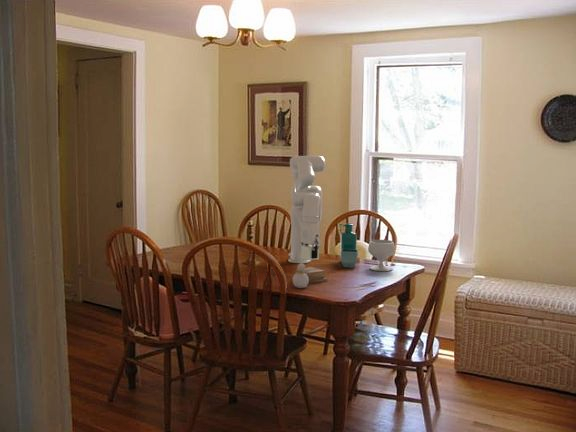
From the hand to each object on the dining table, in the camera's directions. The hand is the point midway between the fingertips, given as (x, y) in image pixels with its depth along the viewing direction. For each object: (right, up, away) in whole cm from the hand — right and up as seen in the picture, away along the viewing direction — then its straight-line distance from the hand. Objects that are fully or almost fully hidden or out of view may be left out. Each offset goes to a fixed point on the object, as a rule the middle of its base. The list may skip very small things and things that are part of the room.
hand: (310, 256), depth 295 cm
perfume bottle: (-4, -13, -15) cm, 21 cm away
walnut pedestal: (0, -11, +2) cm, 11 cm away
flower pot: (+22, -8, +36) cm, 43 cm away
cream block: (0, -1, 0) cm, 1 cm away
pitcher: (+22, -6, +48) cm, 53 cm away
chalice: (+38, -9, +30) cm, 49 cm away
